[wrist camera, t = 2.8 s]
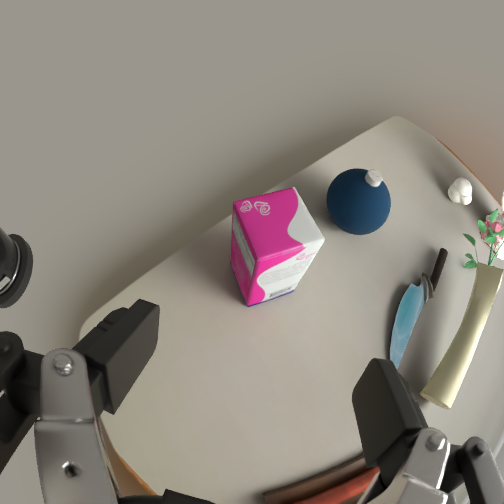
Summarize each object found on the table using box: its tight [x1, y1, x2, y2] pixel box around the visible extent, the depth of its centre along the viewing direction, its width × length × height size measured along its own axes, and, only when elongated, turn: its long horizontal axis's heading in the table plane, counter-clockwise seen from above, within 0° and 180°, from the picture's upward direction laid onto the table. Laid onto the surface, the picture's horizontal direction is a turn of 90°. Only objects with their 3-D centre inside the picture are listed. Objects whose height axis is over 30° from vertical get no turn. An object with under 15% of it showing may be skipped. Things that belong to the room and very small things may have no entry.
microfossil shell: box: [448, 178, 472, 205], centre depth 40 cm, size 4×5×6 cm
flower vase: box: [420, 209, 504, 409], centre depth 29 cm, size 12×12×35 cm
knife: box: [390, 248, 448, 370], centre depth 31 cm, size 22×2×5 cm
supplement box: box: [231, 188, 325, 307], centre depth 26 cm, size 6×6×12 cm
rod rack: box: [262, 454, 380, 504], centre depth 18 cm, size 16×10×3 cm, turn 106°
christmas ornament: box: [326, 169, 391, 235], centre depth 32 cm, size 8×8×10 cm
